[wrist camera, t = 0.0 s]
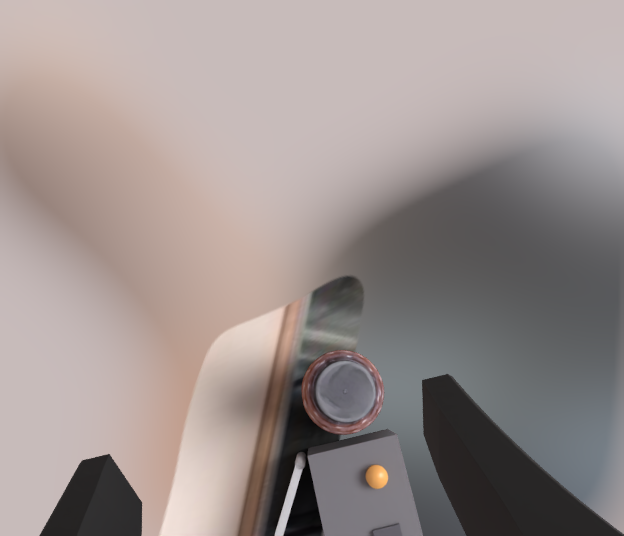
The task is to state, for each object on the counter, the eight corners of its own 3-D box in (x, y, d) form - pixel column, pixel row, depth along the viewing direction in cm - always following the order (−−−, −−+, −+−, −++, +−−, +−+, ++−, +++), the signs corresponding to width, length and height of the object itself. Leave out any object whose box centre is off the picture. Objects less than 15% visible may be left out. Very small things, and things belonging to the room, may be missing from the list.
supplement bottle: (360, 436, 42) (376, 453, 31) (294, 414, 42) (286, 423, 31) (379, 369, 43) (401, 362, 32) (315, 348, 44) (315, 334, 33)
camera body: (428, 591, 39) (446, 624, 34) (343, 613, 39) (348, 650, 33) (387, 429, 42) (398, 435, 37) (308, 448, 42) (307, 456, 36)
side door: (276, 559, 39) (272, 577, 35) (262, 554, 39) (256, 572, 36) (307, 453, 41) (306, 460, 37) (293, 448, 41) (291, 455, 37)
